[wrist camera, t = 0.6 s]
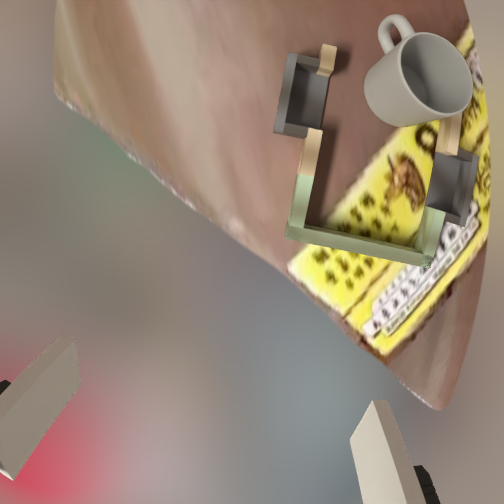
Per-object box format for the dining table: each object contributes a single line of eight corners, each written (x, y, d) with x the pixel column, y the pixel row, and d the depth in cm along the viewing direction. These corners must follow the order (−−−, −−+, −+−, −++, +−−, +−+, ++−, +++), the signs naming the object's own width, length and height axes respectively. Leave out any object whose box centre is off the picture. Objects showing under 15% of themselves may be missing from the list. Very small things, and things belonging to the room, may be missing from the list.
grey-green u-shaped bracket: (289, 46, 31) (291, 36, 28) (471, 107, 31) (484, 105, 28) (255, 227, 37) (254, 232, 34) (440, 265, 37) (451, 273, 34)
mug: (435, 118, 32) (486, 108, 21) (379, 135, 33) (420, 126, 22) (397, 32, 29) (435, -2, 19) (339, 44, 30) (363, 5, 20)
